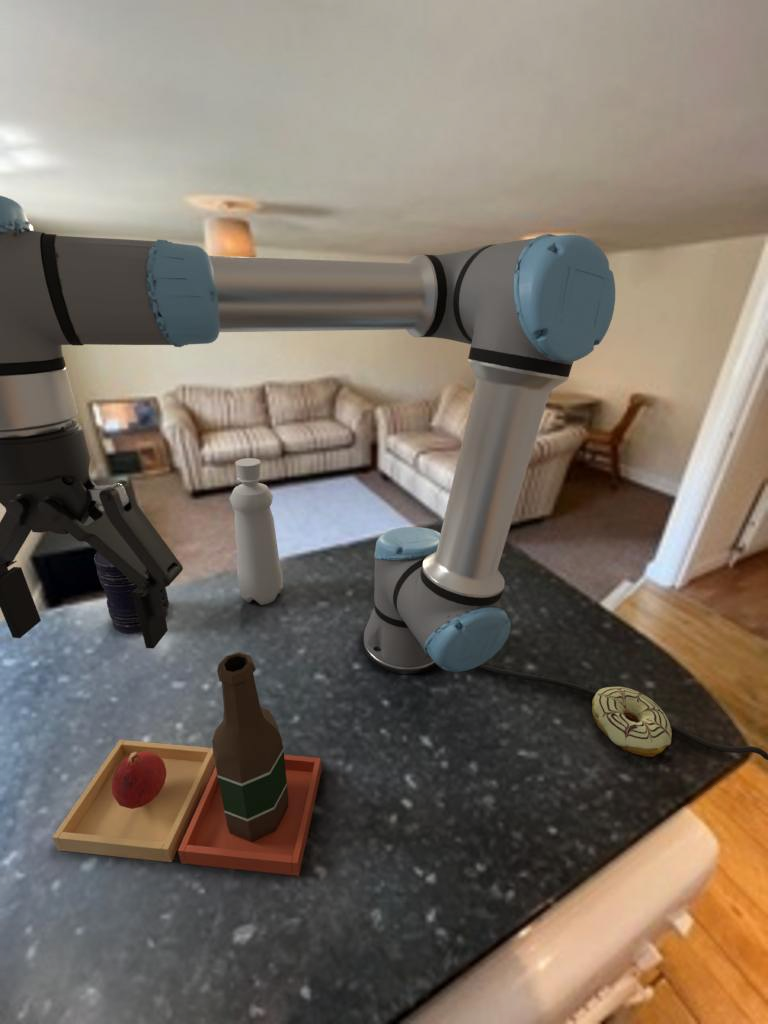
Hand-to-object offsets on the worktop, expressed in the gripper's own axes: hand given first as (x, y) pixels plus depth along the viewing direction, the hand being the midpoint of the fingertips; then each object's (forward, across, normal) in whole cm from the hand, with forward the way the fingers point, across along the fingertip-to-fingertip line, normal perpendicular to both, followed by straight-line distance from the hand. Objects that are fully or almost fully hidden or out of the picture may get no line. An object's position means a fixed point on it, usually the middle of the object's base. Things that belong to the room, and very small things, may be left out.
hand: (91, 634), depth 45 cm
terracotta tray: (+27, -14, 0) cm, 30 cm away
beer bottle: (+26, -14, 0) cm, 30 cm away
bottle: (+27, 0, -44) cm, 52 cm away
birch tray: (+27, 0, 0) cm, 27 cm away
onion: (+26, 0, 0) cm, 26 cm away
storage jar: (+27, +20, -34) cm, 48 cm away
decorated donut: (+27, -66, -17) cm, 73 cm away
